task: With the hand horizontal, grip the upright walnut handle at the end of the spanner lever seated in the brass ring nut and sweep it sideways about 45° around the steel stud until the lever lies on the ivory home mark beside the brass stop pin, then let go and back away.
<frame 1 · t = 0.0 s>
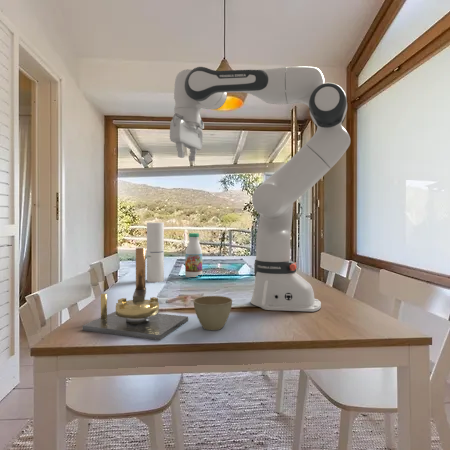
hand: (186, 159, 128), 48 cm above the table, tool pointing down, fingers open, 8 cm apart
flower pot: (212, 328, 95), on the table
cylindrical container: (155, 281, 158), on the table
milk bottle: (193, 277, 168), on the table
ring nut: (138, 279, 100), point 11 cm above the table, hinge at 0.0°
flange base: (137, 325, 96), on the table
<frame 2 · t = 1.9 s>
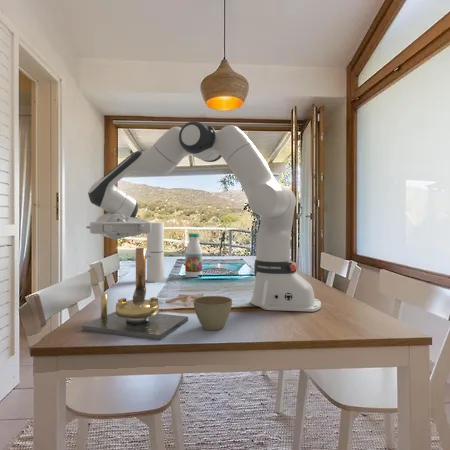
hand: (127, 228, 118), 24 cm above the table, tool horizontal, fingers open, 8 cm apart
nothing on the table moved.
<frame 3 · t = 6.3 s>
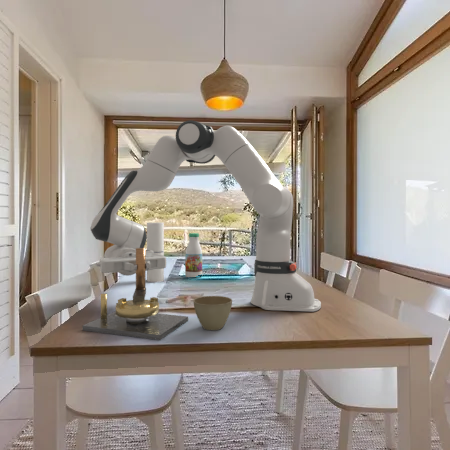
hand: (141, 266, 107), 14 cm above the table, tool horizontal, fingers closed on ring nut, 3 cm apart
ring nut: (138, 279, 100), point 11 cm above the table, hinge at 0.0°, touching gripper
everything else where it was.
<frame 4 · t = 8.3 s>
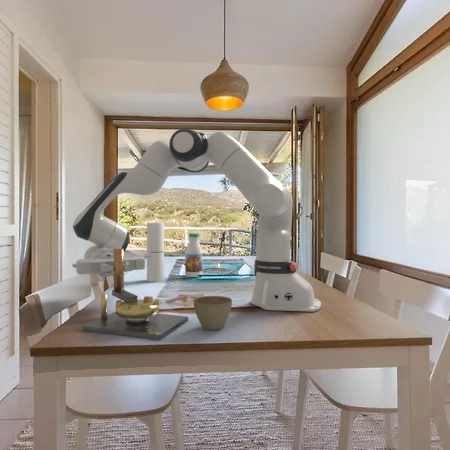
hand: (118, 268, 105), 13 cm above the table, tool horizontal, fingers open, 3 cm apart
ring nut: (130, 280, 99), point 11 cm above the table, hinge at 27.9°, touching gripper
everything else where it was.
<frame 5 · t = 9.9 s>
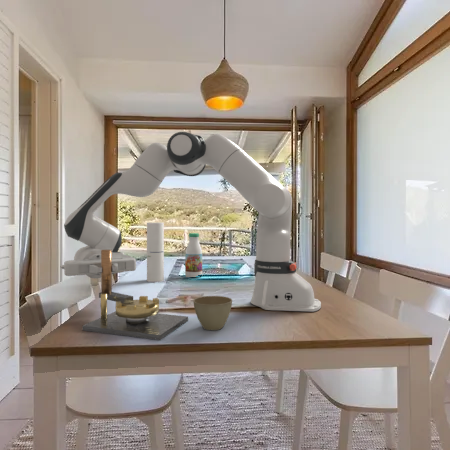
hand: (107, 269, 102), 13 cm above the table, tool horizontal, fingers closed on ring nut, 3 cm apart
ring nut: (126, 280, 98), point 11 cm above the table, hinge at 44.6°, touching gripper
everything else where it was.
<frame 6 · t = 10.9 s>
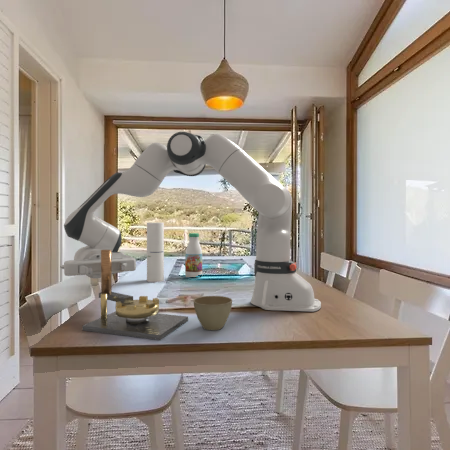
hand: (107, 269, 102), 13 cm above the table, tool horizontal, fingers open, 8 cm apart
ring nut: (126, 280, 98), point 11 cm above the table, hinge at 44.9°
everything else where it was.
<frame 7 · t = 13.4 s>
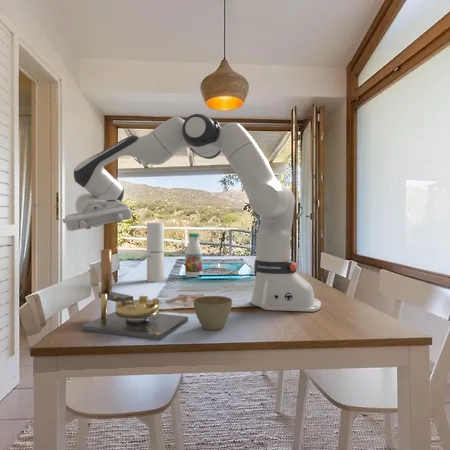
hand: (104, 223, 112), 26 cm above the table, tool horizontal, fingers open, 8 cm apart
nothing on the table moved.
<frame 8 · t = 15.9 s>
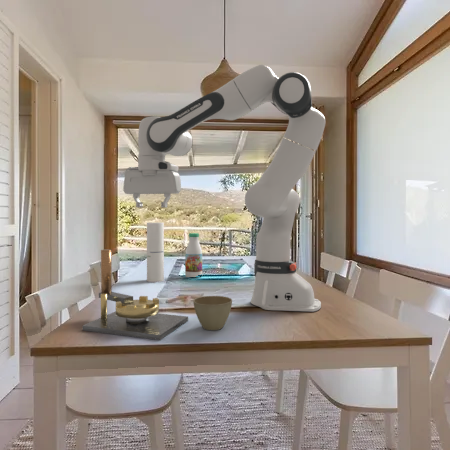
hand: (151, 207, 124), 31 cm above the table, tool pointing down, fingers open, 8 cm apart
nothing on the table moved.
at the end: ring nut at +45° (first picture: +0°); the gripper is holding nothing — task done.
